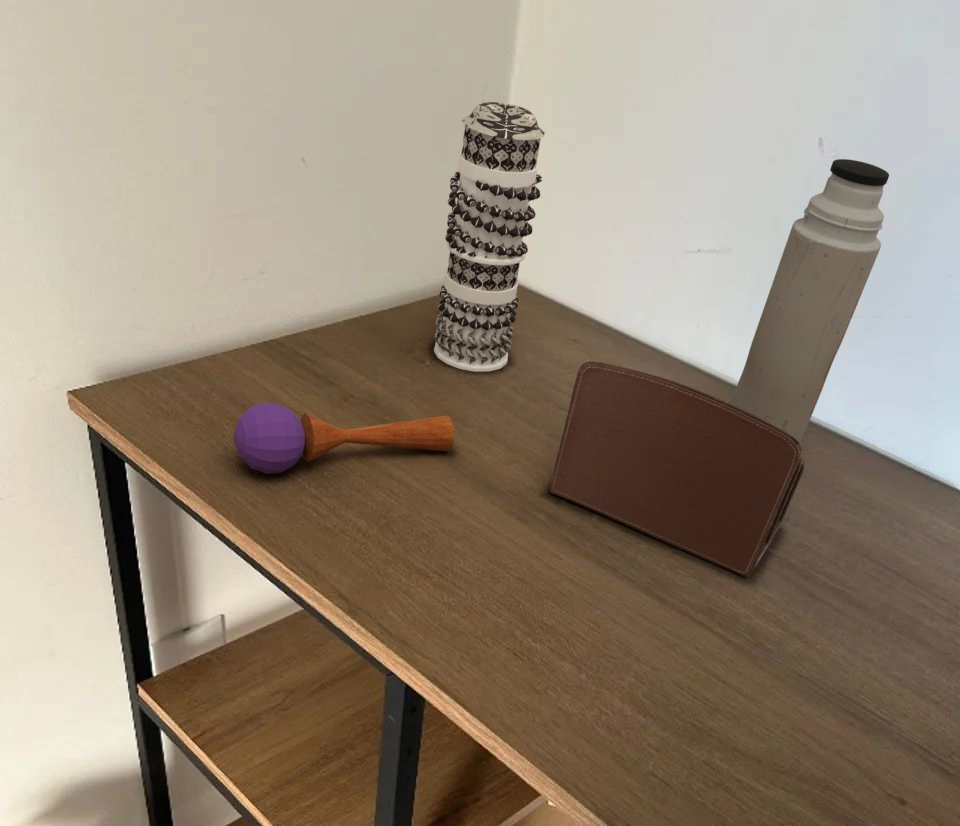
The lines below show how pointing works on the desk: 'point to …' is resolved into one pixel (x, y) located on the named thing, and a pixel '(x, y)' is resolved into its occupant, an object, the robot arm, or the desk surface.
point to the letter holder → (676, 464)
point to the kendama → (324, 436)
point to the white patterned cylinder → (487, 235)
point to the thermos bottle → (813, 298)
